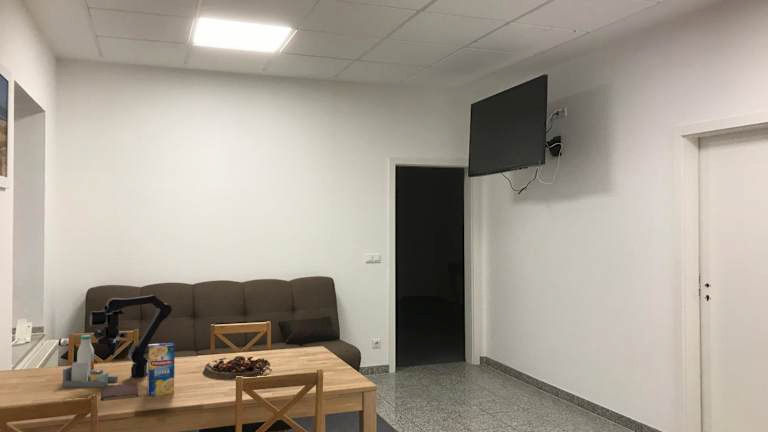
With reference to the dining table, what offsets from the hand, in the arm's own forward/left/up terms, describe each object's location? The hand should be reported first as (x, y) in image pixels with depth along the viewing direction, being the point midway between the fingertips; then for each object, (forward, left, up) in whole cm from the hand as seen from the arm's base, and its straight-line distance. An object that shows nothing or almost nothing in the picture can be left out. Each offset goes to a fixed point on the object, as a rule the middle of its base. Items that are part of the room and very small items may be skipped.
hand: (112, 355), depth 294 cm
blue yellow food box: (-33, +21, -12) cm, 41 cm away
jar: (+4, +8, -12) cm, 15 cm away
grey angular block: (+12, +8, -12) cm, 19 cm away
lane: (+6, +8, -12) cm, 16 cm away
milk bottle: (+18, -8, -12) cm, 23 cm away
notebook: (-14, +21, -13) cm, 28 cm away
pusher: (+1, +8, -12) cm, 14 cm away
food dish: (-56, -21, -13) cm, 61 cm away
